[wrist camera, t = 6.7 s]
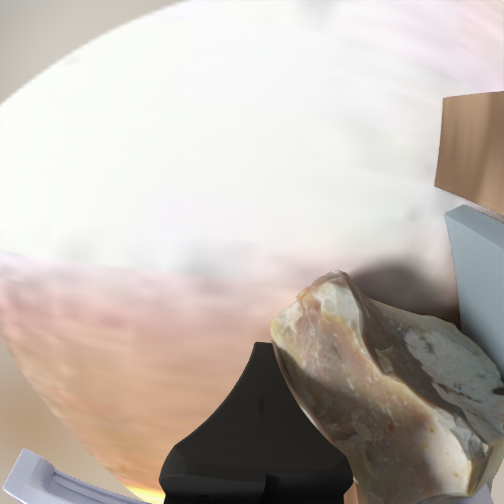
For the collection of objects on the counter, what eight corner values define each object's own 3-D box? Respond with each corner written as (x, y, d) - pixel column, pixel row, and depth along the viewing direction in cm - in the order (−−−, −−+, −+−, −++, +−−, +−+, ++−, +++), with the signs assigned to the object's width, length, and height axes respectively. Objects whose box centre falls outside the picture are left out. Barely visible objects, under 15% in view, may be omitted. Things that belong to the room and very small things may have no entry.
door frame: (350, 462, 19) (360, 534, 12) (333, 463, 19) (340, 537, 12) (468, 107, 10) (586, 111, 3) (443, 98, 10) (563, 89, 3)
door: (472, 405, 16) (501, 462, 10) (459, 412, 16) (486, 471, 10) (463, 204, 11) (556, 254, 5) (444, 214, 11) (534, 271, 6)
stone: (638, 309, 2) (164, 481, 3) (489, 538, 5) (301, 588, 7) (454, 211, 12) (250, 259, 14) (443, 416, 15) (306, 451, 17)
